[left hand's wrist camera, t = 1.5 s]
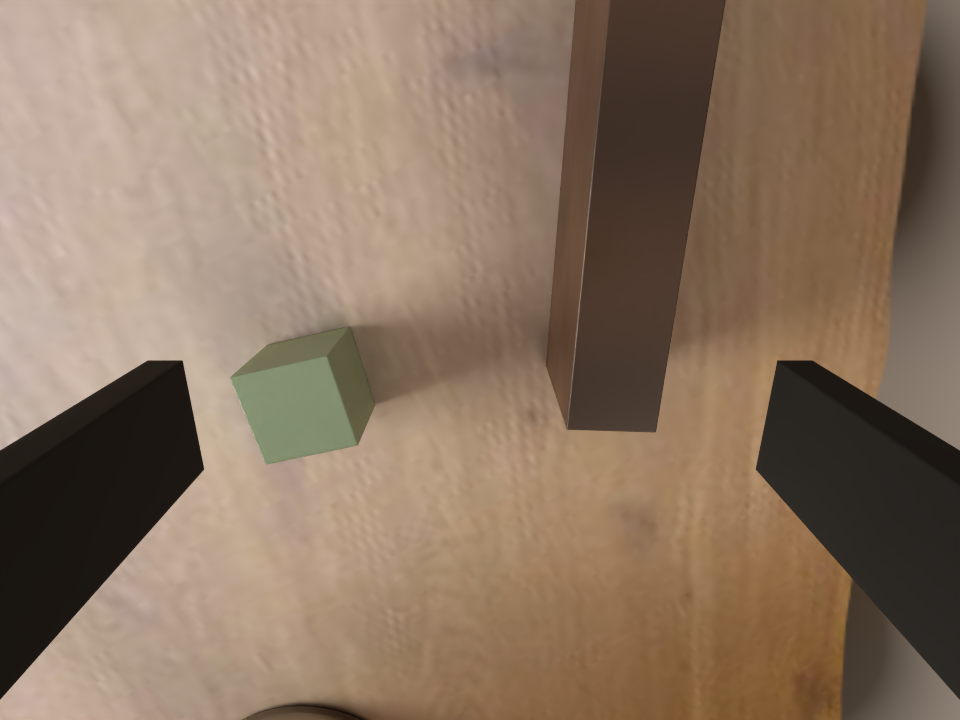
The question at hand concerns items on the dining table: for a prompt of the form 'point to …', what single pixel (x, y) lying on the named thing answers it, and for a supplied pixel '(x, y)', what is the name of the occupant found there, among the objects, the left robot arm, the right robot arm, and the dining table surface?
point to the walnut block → (626, 203)
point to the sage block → (305, 395)
